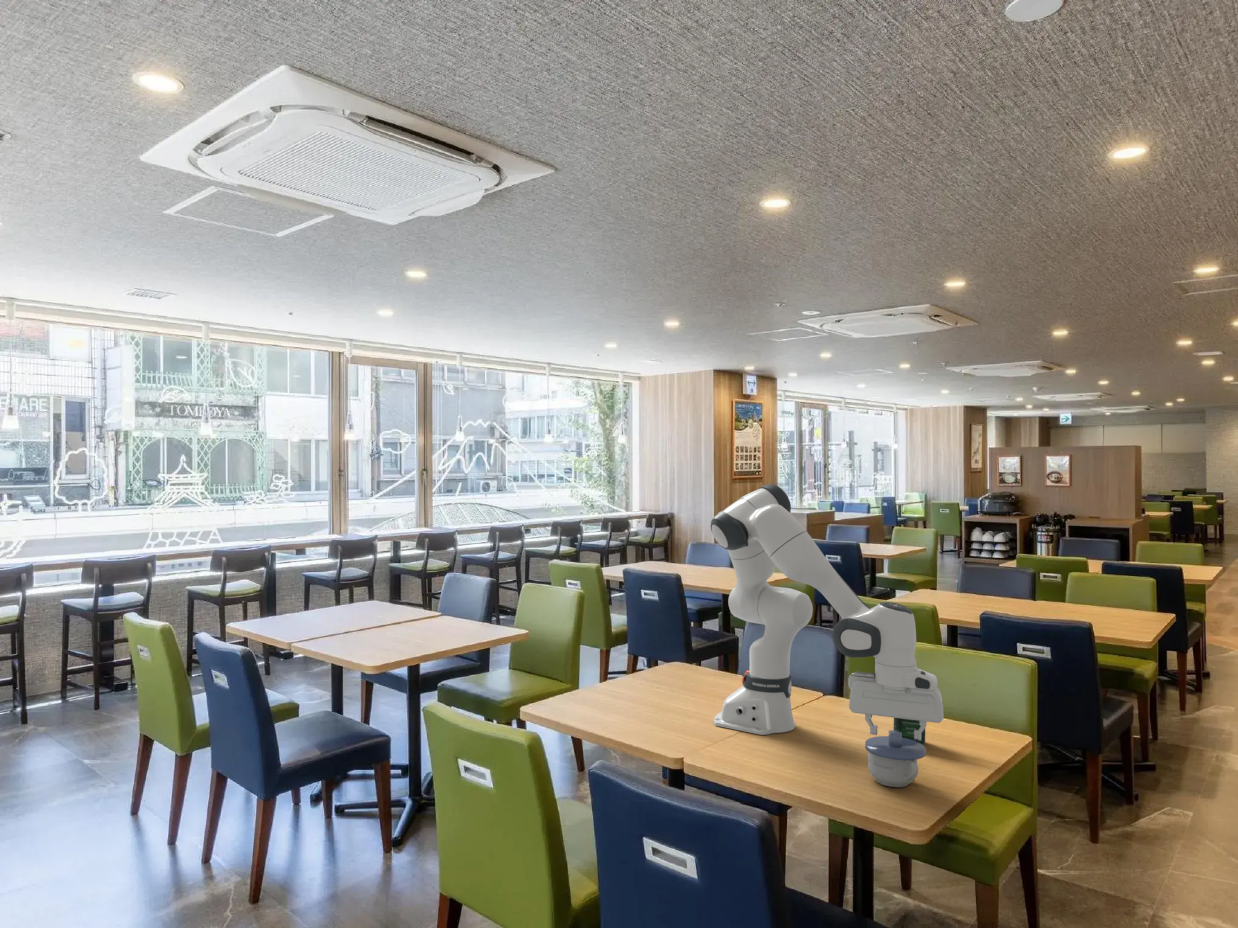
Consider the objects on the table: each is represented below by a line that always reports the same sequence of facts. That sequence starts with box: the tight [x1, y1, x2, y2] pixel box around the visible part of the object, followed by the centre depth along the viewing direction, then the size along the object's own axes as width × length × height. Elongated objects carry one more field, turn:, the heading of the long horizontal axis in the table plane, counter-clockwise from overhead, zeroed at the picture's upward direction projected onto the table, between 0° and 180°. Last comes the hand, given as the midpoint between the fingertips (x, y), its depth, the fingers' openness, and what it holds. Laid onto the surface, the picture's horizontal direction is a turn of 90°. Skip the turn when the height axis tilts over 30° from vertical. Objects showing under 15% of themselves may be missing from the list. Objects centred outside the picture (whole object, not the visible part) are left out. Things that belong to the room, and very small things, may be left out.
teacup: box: [867, 751, 919, 788], centre depth 180 cm, size 14×11×8 cm
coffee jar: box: [893, 718, 926, 747], centre depth 208 cm, size 10×8×19 cm
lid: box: [864, 729, 927, 760], centre depth 180 cm, size 13×13×4 cm
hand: (895, 736), depth 180 cm, fingers open, 8 cm apart
